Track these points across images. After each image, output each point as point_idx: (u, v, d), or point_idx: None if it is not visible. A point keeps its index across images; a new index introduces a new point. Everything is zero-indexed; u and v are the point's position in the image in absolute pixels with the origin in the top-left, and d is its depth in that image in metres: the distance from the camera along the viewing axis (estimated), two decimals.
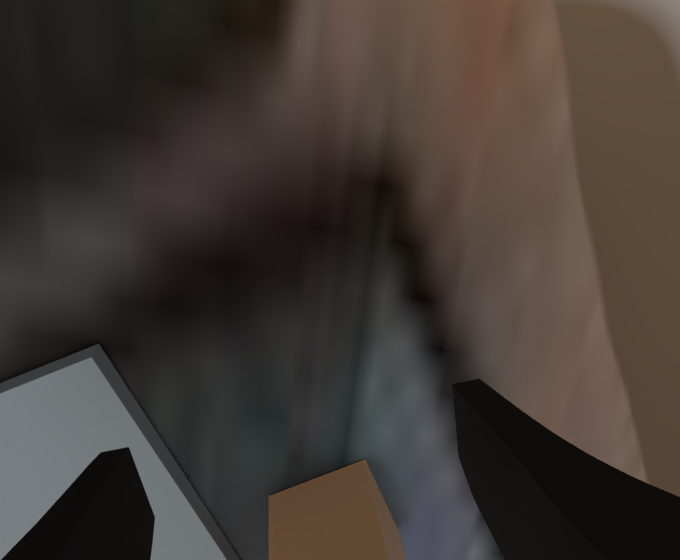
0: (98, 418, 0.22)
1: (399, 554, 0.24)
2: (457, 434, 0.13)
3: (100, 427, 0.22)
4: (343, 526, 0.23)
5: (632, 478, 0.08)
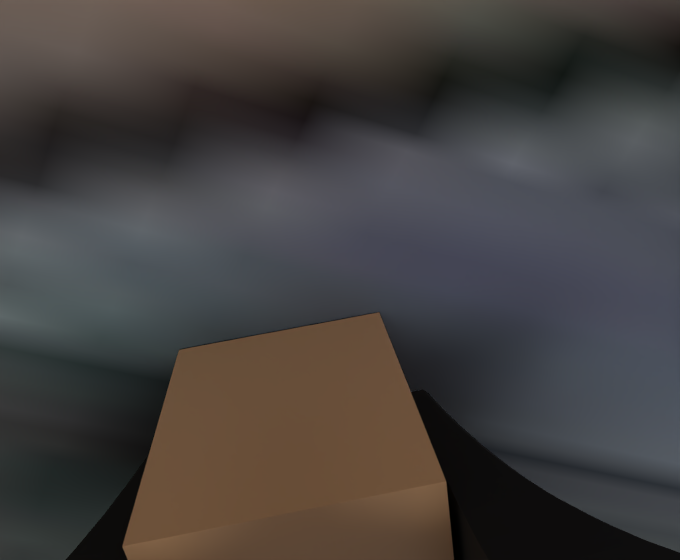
0: None
1: (321, 391, 0.11)
2: None
3: None
4: None
5: (549, 495, 0.08)
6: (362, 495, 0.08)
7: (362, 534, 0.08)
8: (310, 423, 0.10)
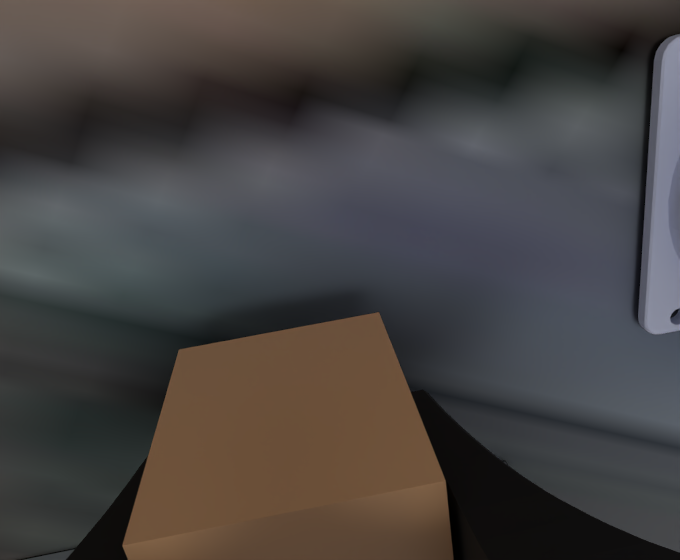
0: None
1: (321, 391, 0.11)
2: None
3: None
4: None
5: (549, 495, 0.08)
6: (362, 494, 0.08)
7: (361, 533, 0.08)
8: (310, 423, 0.10)
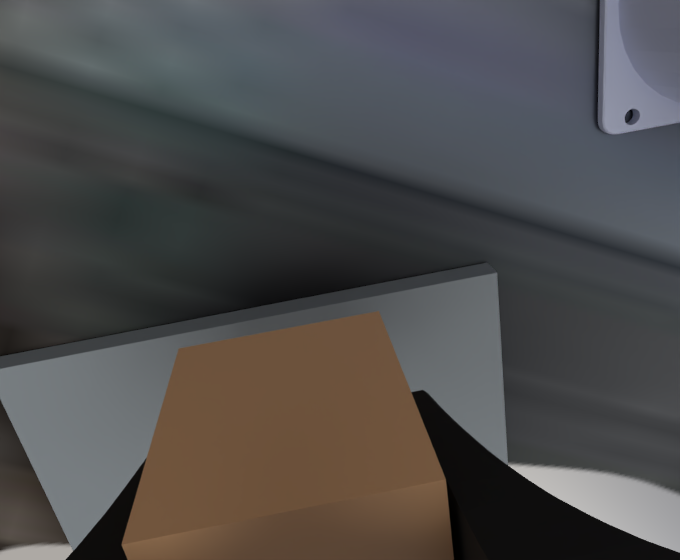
0: (68, 384, 0.20)
1: (320, 389, 0.11)
2: None
3: (81, 385, 0.21)
4: None
5: (549, 495, 0.08)
6: (362, 493, 0.08)
7: (361, 532, 0.08)
8: (310, 422, 0.10)
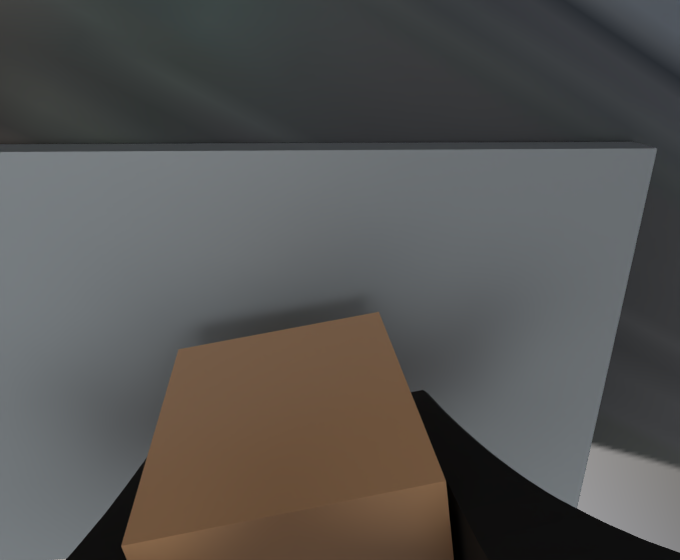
0: (0, 201, 0.13)
1: (320, 390, 0.11)
2: None
3: (20, 207, 0.13)
4: None
5: (549, 495, 0.08)
6: (362, 494, 0.08)
7: (361, 533, 0.08)
8: (309, 423, 0.10)
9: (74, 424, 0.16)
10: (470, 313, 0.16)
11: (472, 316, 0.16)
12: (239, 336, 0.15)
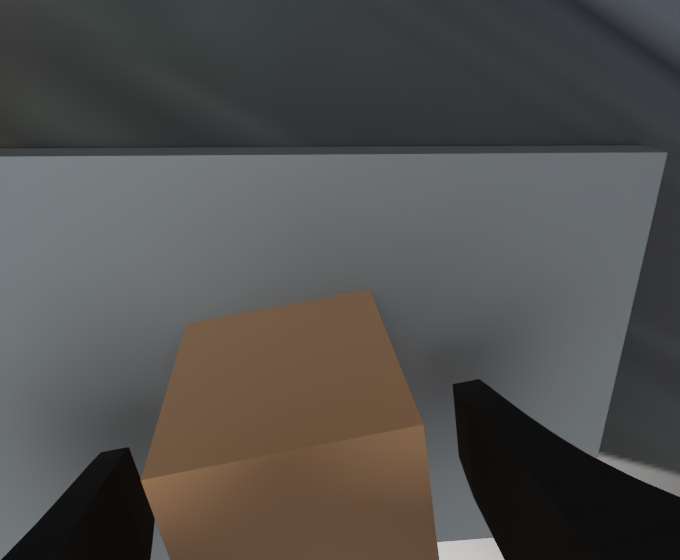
0: None
1: (315, 355, 0.12)
2: (457, 434, 0.13)
3: (11, 214, 0.13)
4: None
5: (632, 478, 0.08)
6: (350, 437, 0.09)
7: (349, 472, 0.10)
8: (305, 382, 0.11)
9: (68, 435, 0.15)
10: (475, 321, 0.15)
11: (477, 324, 0.15)
12: None
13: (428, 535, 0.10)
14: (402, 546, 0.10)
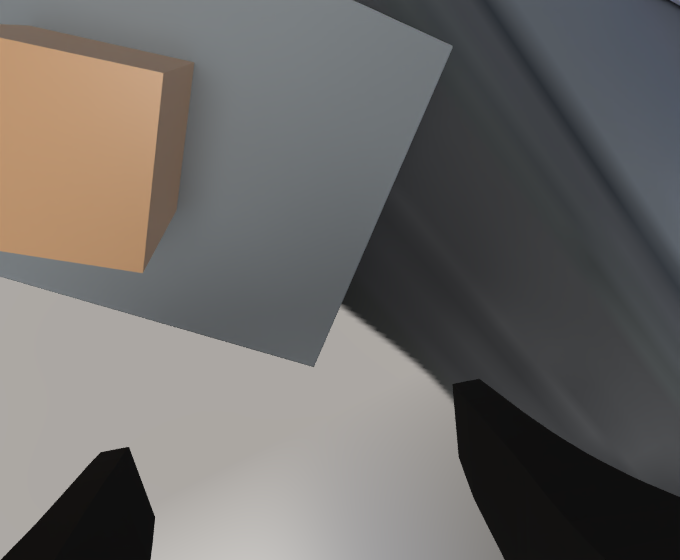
0: None
1: (117, 52, 0.14)
2: (457, 434, 0.13)
3: None
4: None
5: (632, 478, 0.08)
6: (104, 61, 0.12)
7: (95, 91, 0.12)
8: (97, 51, 0.14)
9: None
10: (273, 130, 0.18)
11: (273, 133, 0.18)
12: None
13: (145, 184, 0.13)
14: (122, 185, 0.13)
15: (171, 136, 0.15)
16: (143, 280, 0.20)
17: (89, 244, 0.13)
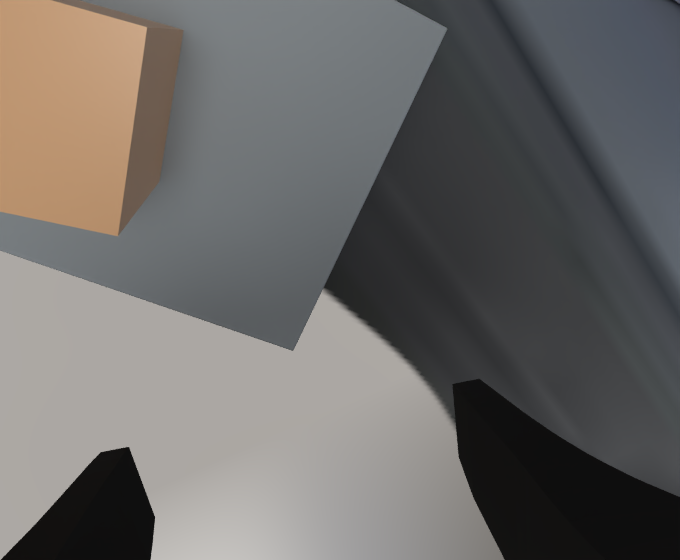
0: None
1: (103, 10, 0.14)
2: (457, 434, 0.13)
3: None
4: None
5: (632, 478, 0.08)
6: (86, 11, 0.12)
7: (75, 43, 0.12)
8: (80, 5, 0.13)
9: None
10: (261, 104, 0.18)
11: (262, 107, 0.18)
12: None
13: (124, 143, 0.13)
14: (100, 143, 0.13)
15: (155, 99, 0.15)
16: (122, 253, 0.19)
17: (63, 202, 0.13)
